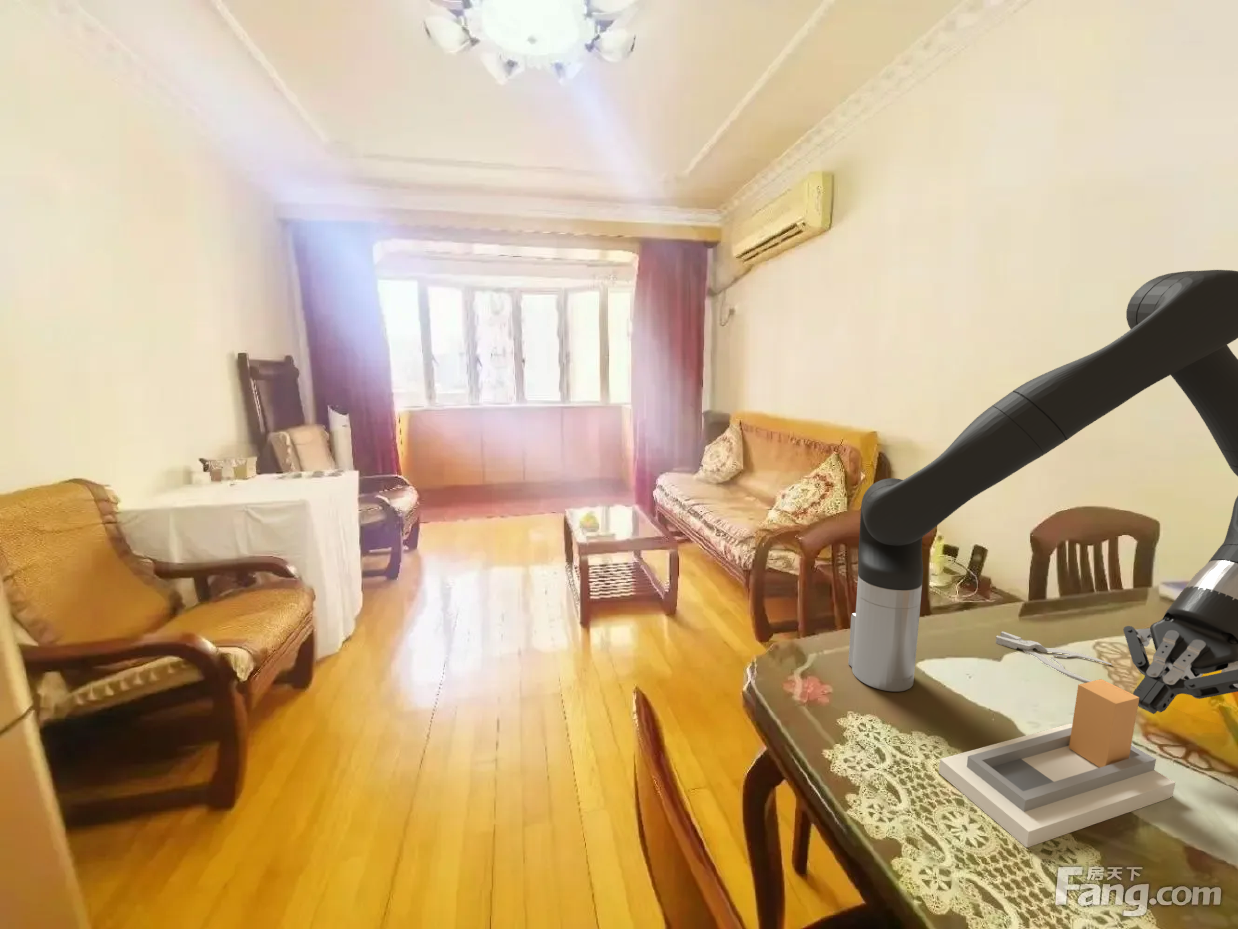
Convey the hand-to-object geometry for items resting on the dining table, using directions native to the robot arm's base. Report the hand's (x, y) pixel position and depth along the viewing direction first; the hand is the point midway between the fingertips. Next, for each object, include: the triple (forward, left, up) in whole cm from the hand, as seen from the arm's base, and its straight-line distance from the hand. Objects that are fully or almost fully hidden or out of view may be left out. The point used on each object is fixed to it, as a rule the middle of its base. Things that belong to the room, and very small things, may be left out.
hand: (1144, 707), depth 66 cm
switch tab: (0, -7, -5) cm, 9 cm away
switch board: (0, -15, -7) cm, 16 cm away
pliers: (-21, +15, -8) cm, 27 cm away
